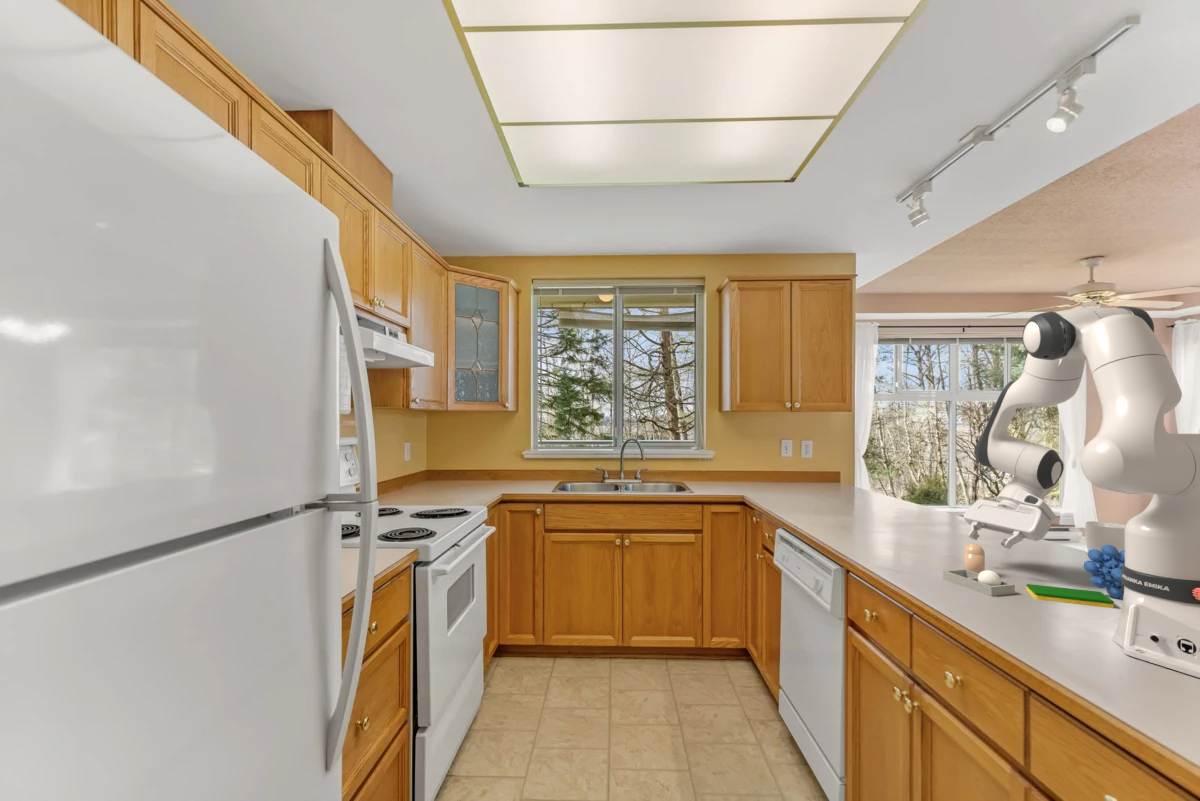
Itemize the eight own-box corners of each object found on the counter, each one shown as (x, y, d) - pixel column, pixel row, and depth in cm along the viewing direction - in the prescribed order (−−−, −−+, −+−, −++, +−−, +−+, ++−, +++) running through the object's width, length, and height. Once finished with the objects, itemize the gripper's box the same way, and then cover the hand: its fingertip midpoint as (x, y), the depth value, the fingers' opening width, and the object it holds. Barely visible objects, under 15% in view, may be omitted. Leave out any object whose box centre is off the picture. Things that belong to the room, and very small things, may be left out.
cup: (1088, 562, 156) (1088, 519, 156) (1133, 570, 149) (1132, 525, 149) (1081, 568, 150) (1081, 524, 150) (1127, 576, 143) (1127, 529, 143)
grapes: (1087, 598, 126) (1086, 546, 127) (1081, 590, 132) (1081, 540, 132) (1157, 608, 120) (1157, 553, 120) (1148, 599, 126) (1148, 546, 126)
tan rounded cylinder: (989, 577, 142) (988, 545, 142) (975, 579, 141) (975, 546, 141) (973, 572, 146) (973, 541, 146) (960, 573, 145) (960, 542, 145)
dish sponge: (1114, 612, 119) (1114, 601, 119) (1035, 603, 125) (1035, 592, 125) (1101, 602, 126) (1100, 591, 126) (1026, 593, 131) (1026, 583, 131)
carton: (1014, 595, 128) (1014, 584, 128) (991, 598, 127) (991, 587, 127) (965, 578, 141) (965, 568, 141) (943, 580, 139) (943, 570, 139)
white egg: (1006, 592, 129) (1006, 572, 129) (990, 594, 128) (990, 574, 128) (988, 586, 134) (988, 567, 134) (972, 587, 133) (972, 568, 133)
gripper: (975, 489, 157) (947, 525, 154) (1049, 501, 137) (1018, 543, 134) (988, 504, 158) (960, 540, 155) (1063, 518, 138) (1033, 560, 136)
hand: (987, 542), depth 145 cm, fingers open, 8 cm apart
